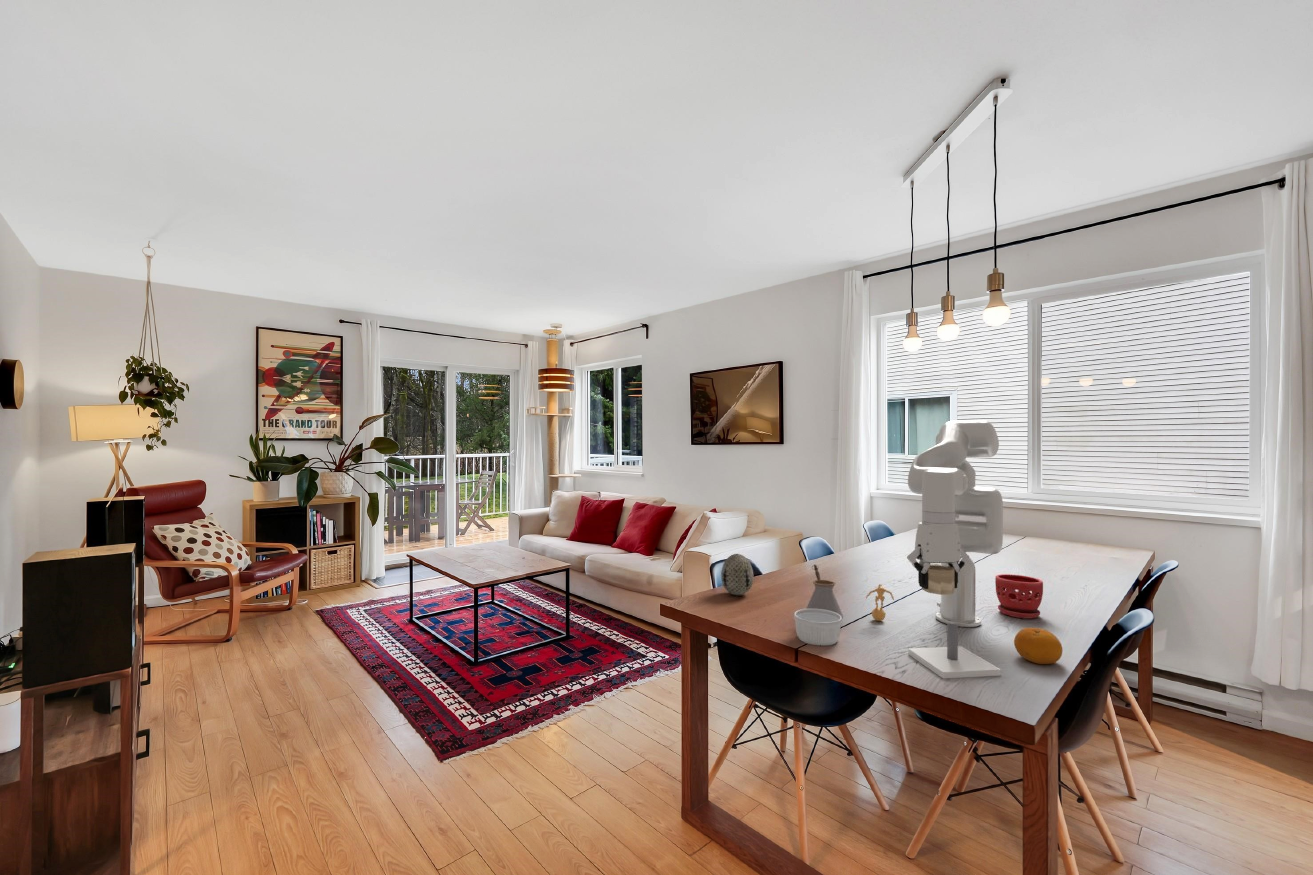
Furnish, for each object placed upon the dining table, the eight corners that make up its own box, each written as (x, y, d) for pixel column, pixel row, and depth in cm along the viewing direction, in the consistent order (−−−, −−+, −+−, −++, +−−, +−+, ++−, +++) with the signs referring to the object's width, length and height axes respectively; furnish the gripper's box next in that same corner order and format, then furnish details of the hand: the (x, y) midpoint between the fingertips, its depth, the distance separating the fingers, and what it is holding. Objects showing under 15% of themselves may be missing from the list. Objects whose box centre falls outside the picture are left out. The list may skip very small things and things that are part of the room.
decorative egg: (760, 596, 202) (760, 555, 202) (734, 601, 197) (734, 558, 196) (739, 588, 213) (739, 549, 212) (714, 593, 207) (714, 552, 207)
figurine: (890, 619, 178) (890, 581, 178) (895, 625, 172) (896, 586, 172) (863, 617, 179) (863, 580, 179) (867, 624, 173) (867, 585, 173)
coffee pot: (847, 630, 167) (847, 580, 167) (807, 629, 168) (807, 579, 168) (832, 608, 188) (832, 564, 188) (797, 607, 189) (797, 563, 189)
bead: (917, 587, 147) (917, 564, 147) (942, 586, 148) (942, 563, 148) (932, 594, 140) (933, 570, 140) (959, 594, 141) (959, 570, 141)
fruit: (1009, 660, 145) (1009, 629, 145) (1019, 649, 152) (1019, 620, 152) (1058, 672, 138) (1058, 640, 138) (1066, 660, 145) (1066, 630, 145)
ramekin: (806, 627, 170) (806, 605, 170) (849, 637, 161) (849, 613, 161) (786, 640, 160) (786, 615, 160) (831, 651, 151) (831, 626, 151)
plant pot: (1052, 620, 176) (1052, 582, 176) (1010, 620, 176) (1010, 582, 176) (1026, 608, 189) (1026, 572, 189) (986, 607, 189) (986, 572, 189)
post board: (908, 654, 149) (908, 614, 149) (960, 651, 151) (960, 612, 151) (943, 678, 134) (943, 634, 134) (1000, 675, 136) (1001, 632, 136)
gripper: (961, 515, 148) (961, 582, 148) (898, 516, 147) (898, 584, 147) (979, 519, 141) (979, 590, 141) (913, 521, 139) (913, 592, 139)
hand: (938, 586), depth 144 cm, fingers closed on bead, 7 cm apart
